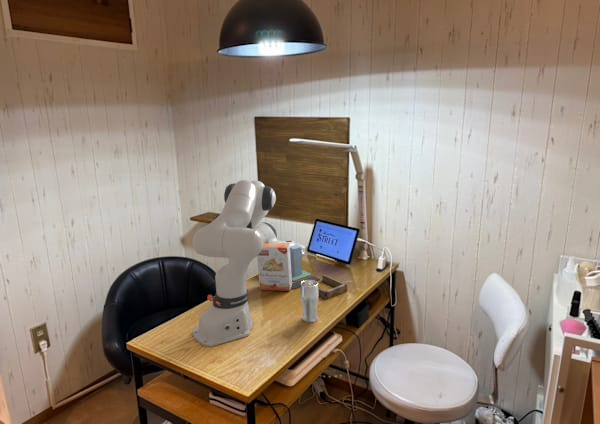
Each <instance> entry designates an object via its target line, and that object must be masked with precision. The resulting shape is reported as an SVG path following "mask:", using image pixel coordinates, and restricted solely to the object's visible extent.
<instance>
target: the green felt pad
mask: <svg viewBox="0 0 600 424" xmlns="http://www.w3.org/2000/svg"><path fill="white" fill-rule="evenodd" d="M311 276H313V274H312V273H310V272H308V271H306V270H303V269H302V274H301V275H298V276H296V277H294V276H292V283H294V282H297V281H300V280H303V279H306V278H308V277H311Z"/></svg>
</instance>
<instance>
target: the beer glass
mask: <svg viewBox="0 0 600 424" xmlns="http://www.w3.org/2000/svg"><path fill="white" fill-rule="evenodd" d="M318 287H319V282H318V281H315V280H304V281H302V282H301V287H300V293H299V294H300V301H301V306H302V311H303V313H302V318H301V319H302V321H303V322H305V323H316V322H317V321H318V320H319V316H318V306H319V305H318V304H319V297H320V296H319V289H318Z"/></svg>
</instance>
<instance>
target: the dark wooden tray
mask: <svg viewBox="0 0 600 424" xmlns="http://www.w3.org/2000/svg"><path fill="white" fill-rule="evenodd" d="M321 277H322V279H321V280H322V282H324V283H326V284H327V285H330V286H331V287H333V288H331V289H328V290H326V289H323V288H321V287H319V286H318V289H319V297H321V298H323V299H325V300H327V299H330V298H333V297H334V296H337V295H339V294H342V293H345V292H347V291H348V284H347V283H345V282H342V281H340V280H338V279H335V278H333V277H331V276H329V275H327V274H322V276H321Z"/></svg>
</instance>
